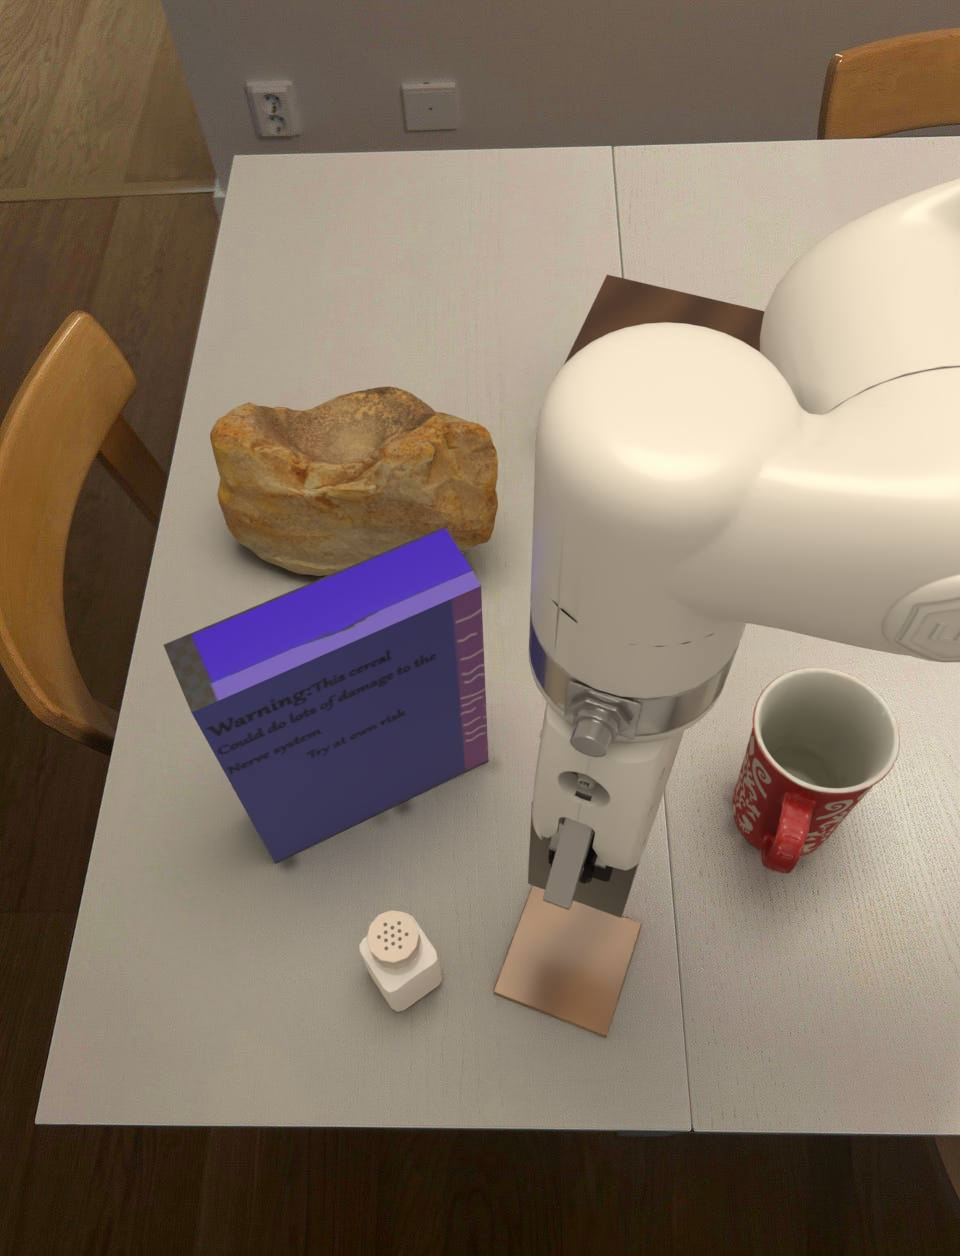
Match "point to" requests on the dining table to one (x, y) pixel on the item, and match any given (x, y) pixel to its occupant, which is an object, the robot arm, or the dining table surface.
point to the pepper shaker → (400, 959)
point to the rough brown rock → (352, 478)
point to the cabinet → (663, 312)
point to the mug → (810, 761)
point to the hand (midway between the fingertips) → (596, 819)
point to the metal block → (592, 894)
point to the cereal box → (344, 692)
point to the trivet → (568, 962)
